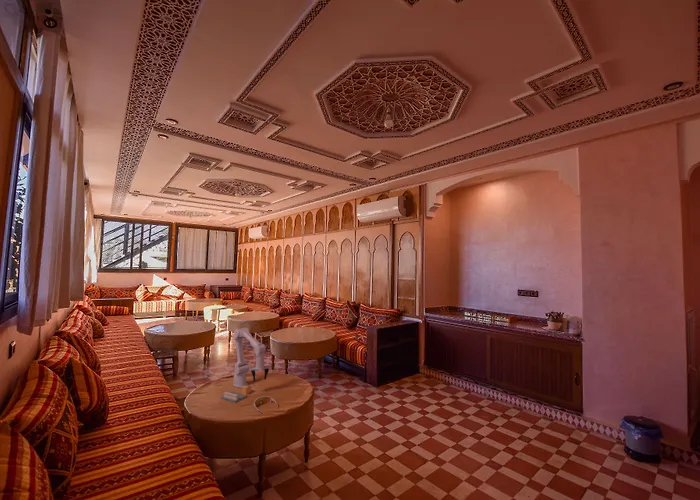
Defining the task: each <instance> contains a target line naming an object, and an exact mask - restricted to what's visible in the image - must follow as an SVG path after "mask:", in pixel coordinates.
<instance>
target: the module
mask: <svg viewBox="0 0 700 500" xmlns="http://www.w3.org/2000/svg"><path fill="white" fill-rule="evenodd" d="M251 393H252V385H250V384H249V385H245V386H243V387H242V388H241V394H244V395H247V396H248V395H249V394H251Z"/></svg>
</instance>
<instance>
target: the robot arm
mask: <svg viewBox="0 0 700 500" xmlns="http://www.w3.org/2000/svg"><path fill="white" fill-rule="evenodd" d="M233 338H234V342H235V350H236V351H235V352H236V360H237V362H236V363H235V364H234V370H233V371H234V375H233V384H232V386H233V387H237V388H241V389H242V387H243V386H245V385H250V384H249V383H248V382H247V375H248V372H250V373H251V374H252V378H253V382H256V371H262V370H264V371H263V372H264V374H263V375H264V376H263V377H264V380H267V376H268V373H269V372H270V371H269V370H270V369H271V366H270V365H265V353H266V351H267V347H266V345H265V344H264V343H261V342H260V341H259V339H257V338H254V337H253V336H252V334H251V333H250V329H249V328H248V327H242V328H236V329H234V331H233ZM244 339H246V340H247V341H248V342H249V345H250V346H251V347H252V348H253V349H254V353H255V356H256V357H255V366H254V367H250V366H249V363H248V361H247V360H246V359H245V352H244V345H243V340H244Z"/></svg>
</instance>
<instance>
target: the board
mask: <svg viewBox="0 0 700 500" xmlns="http://www.w3.org/2000/svg"><path fill="white" fill-rule="evenodd" d="M245 398H248V394H247V395H244V394H242V393H239V392H235V391H232V392H229V391H224V392H223V396H221V397H220V400H223V401H227V402H231V403H234V404H236V403H238V402H240V401H242V400H244V399H245Z"/></svg>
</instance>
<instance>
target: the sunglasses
mask: <svg viewBox="0 0 700 500" xmlns="http://www.w3.org/2000/svg"><path fill="white" fill-rule="evenodd" d="M272 401H273V402H275V405H276V408H277V410H279V406H278V403H277V402H276V400H275V399H274V398H273V397H271V396H268V395H263V396H262V395H261V396H260V397H257V398H256V399H255V400H254V402H253V408H254V409H256V410H257V411H258V412H260V414H263V415H264V412H262V411H261V410H260V409H259V408H258V407H257V406H260V405H261V403H262V404H270V403H271V402H272Z"/></svg>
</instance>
